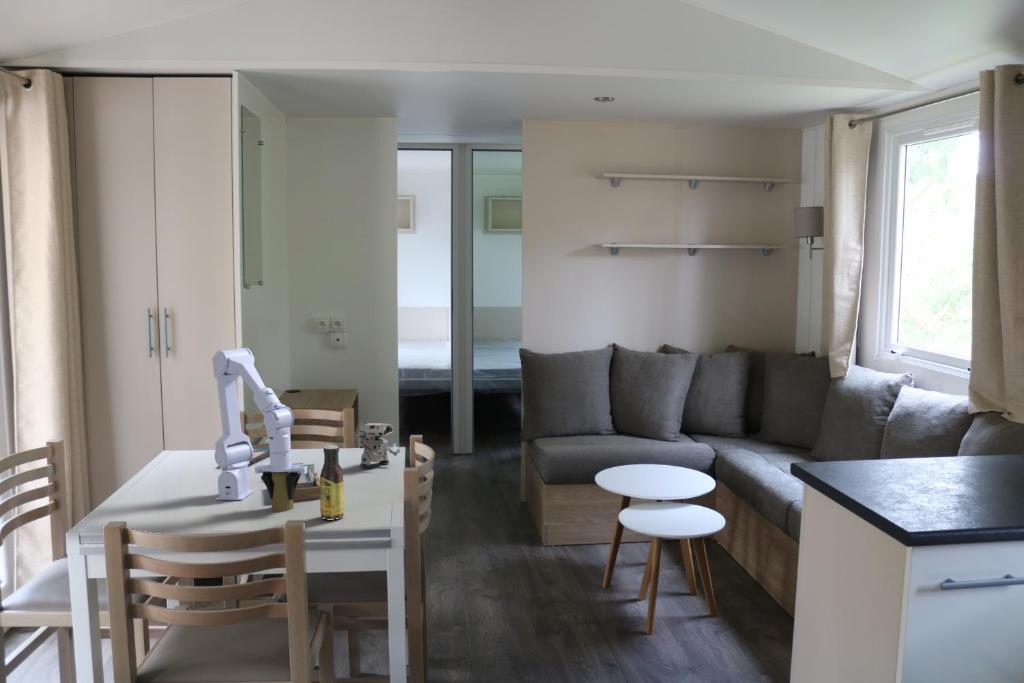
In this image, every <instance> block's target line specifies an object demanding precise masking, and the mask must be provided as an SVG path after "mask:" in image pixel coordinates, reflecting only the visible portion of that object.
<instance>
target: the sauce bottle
mask: <svg viewBox="0 0 1024 683" xmlns="http://www.w3.org/2000/svg"><path fill="white" fill-rule="evenodd" d="M339 452H340V447H339V445H336V444H329V445H325V446H323V455H324V458H323V459H324V461H323V466H322V469H321V472H320V476H319V480H320V499H319V503H320V505H319V506H320V507H319V508H320V517H322V518H325V519H336V518H340V517H342V516H343V517H344V511H345V503H344V500H345V498H344V495H345V494H344V493H345V491H344V489H345V488H344V470H343V469H342V466H341V465H340V463H339V461H340V460H339ZM343 517H342V518H343ZM322 518H321V519H322Z"/></svg>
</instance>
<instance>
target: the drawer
mask: <svg viewBox="0 0 1024 683" xmlns="http://www.w3.org/2000/svg"><path fill="white" fill-rule="evenodd" d="M292 464H293V465H300V466H307V473H306V474H305V475H303V474H301V476H300V478H299V480H298V483H297V486H296V489H299V488H309V487H314V476H313V475H314V473H315V463H314V462H313V463H312V462H311V463H310V462H309V463H304V462H295V463H292Z"/></svg>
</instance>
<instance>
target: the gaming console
mask: <svg viewBox="0 0 1024 683" xmlns="http://www.w3.org/2000/svg"><path fill="white" fill-rule="evenodd" d="M269 457H270V449H269V448H256V449H253V458H252V460H251V461H250V464H248V466H249V467H250V465H253V464H255V463H258V462H260V461H263V460H264V459H266V458H269ZM218 468H221V467H220V466H219V465H218V464H217V469H218Z"/></svg>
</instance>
